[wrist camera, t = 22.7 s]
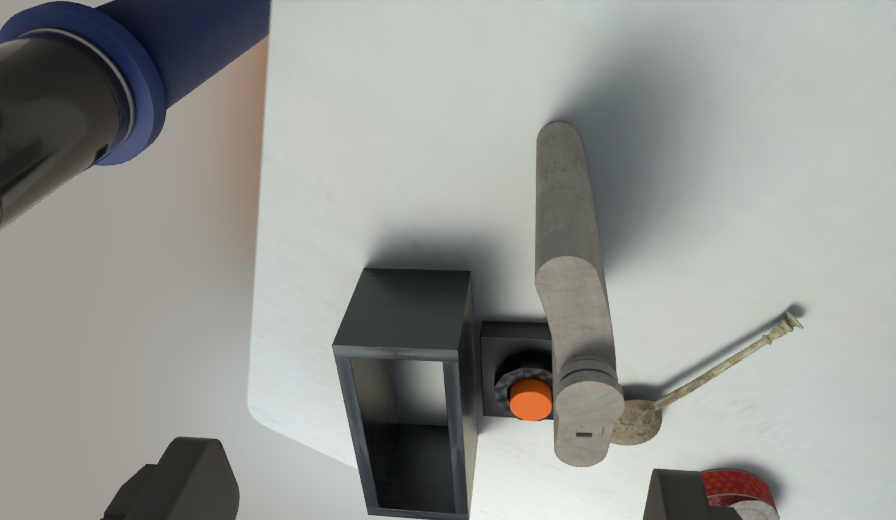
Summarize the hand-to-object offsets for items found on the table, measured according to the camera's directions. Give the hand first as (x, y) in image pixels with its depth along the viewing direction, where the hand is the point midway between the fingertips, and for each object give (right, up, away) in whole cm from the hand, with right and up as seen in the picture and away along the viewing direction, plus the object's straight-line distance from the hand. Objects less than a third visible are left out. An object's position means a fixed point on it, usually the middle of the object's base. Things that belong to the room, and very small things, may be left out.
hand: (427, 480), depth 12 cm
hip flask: (+10, +8, +38) cm, 40 cm away
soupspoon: (+22, -6, +45) cm, 51 cm away
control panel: (+8, -6, +47) cm, 48 cm away
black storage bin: (-2, -5, +48) cm, 48 cm away
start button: (+8, -8, +44) cm, 45 cm away
